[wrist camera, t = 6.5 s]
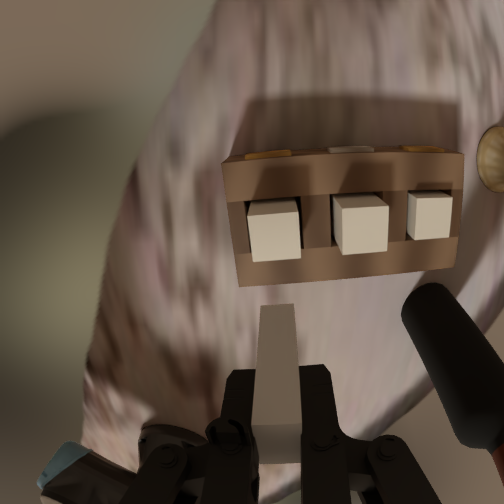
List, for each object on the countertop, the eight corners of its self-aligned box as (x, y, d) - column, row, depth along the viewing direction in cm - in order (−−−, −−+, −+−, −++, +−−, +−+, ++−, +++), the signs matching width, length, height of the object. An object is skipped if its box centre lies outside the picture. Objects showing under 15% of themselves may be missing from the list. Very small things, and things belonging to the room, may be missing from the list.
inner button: (256, 239, 31) (252, 262, 26) (251, 200, 29) (247, 216, 25) (297, 236, 31) (301, 258, 26) (294, 196, 29) (298, 211, 24)
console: (243, 264, 36) (239, 287, 31) (228, 153, 31) (220, 160, 26) (435, 248, 33) (454, 267, 29) (440, 145, 28) (464, 151, 24)
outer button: (396, 222, 31) (414, 240, 27) (397, 186, 30) (416, 198, 25) (428, 220, 31) (448, 237, 26) (430, 185, 29) (452, 197, 25)
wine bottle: (433, 271, 34) (566, 474, 7) (458, 303, 36) (566, 480, 9) (390, 311, 37) (477, 534, 10) (418, 338, 39) (496, 528, 11)
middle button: (332, 233, 30) (342, 255, 26) (331, 193, 29) (342, 208, 24) (371, 230, 30) (386, 251, 25) (371, 191, 28) (388, 205, 24)
